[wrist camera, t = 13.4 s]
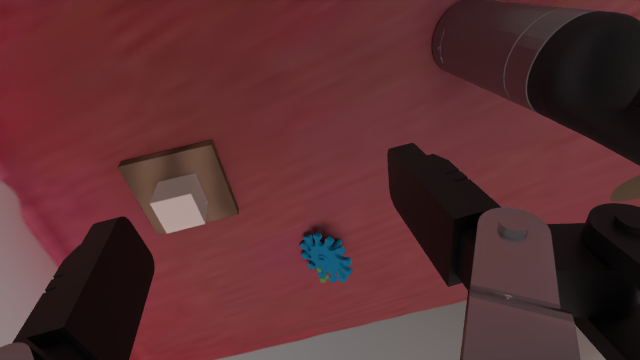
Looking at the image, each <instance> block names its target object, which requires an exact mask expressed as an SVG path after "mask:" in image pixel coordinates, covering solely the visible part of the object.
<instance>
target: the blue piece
mask: <svg viewBox="0 0 640 360" xmlns="http://www.w3.org/2000/svg"><path fill="white" fill-rule="evenodd" d="M313 238H314V240H315V243H314V242H313ZM321 238H322V234H320V233H317V232H316V233H315V234H314V235H313V237H312V235H310V234H309V235H306V236H305V237H304V240H305V241H304V242H303V243H302V244H301V245H300V247H301V248H302V249H304V250H305V251H304V252H303V253H302V257H303V258H304V259H309V260H311V261H310V262H309V264H308V266H309V268H310V269H311V270H313V269H314V268H317V271H318V275H319V276H320V277H321V278H320V281H321V282H322V283H324V282H325V281H326V280H327V278H328V275H327V274H326V273H330V274H331V276H330V277H329V281H331V282H333V283H335V282H336V281H337V276H336V273H337V274H338V275H339V277H338V279H339V281H340V282H345V281H346V280H347V277H348V276H349V275H350V274H351V273H352V271H353V270H352V269H351V268H349V266H350V264H351V258H349V257H343V256H341V255H343V254H344V252H345V249H344V247H343V246H342V245H341V244H342V240H341V239H337V241H336V242H335V243H334V239H333V238H331V237H330V236H328V237H327V238H326V239H325V243H324V244H323V243H321V242H320V239H321ZM333 243H334V244H333ZM332 244H333V245H332ZM331 245H332V246H331ZM309 246H310V247H309ZM330 246H331V247H330ZM341 269H342V270H343V272H344V273H343V272H342V270H341Z"/></svg>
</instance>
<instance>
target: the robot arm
mask: <svg viewBox="0 0 640 360" xmlns="http://www.w3.org/2000/svg"><path fill="white" fill-rule="evenodd" d="M432 52H433V56H434V59H435V61H436V63H437V64H438V65H439V66H440V68H441V69H443V70H445V71H447V72H449V73H451V74H453V75H455V76H458V77H460V78H462V79H464V80H466V81H468V82H470V83H473V84H475V85H477V86H479V87H481V88H484V89H486V90H488V91H490V92H492V93H494V94H497V95H499V96H501V97H503V98H505V99H508V100H510V101H512V102H514V103H517V104H519V105H521V106H523V107H525V108H528V109H530V110H532V111H534V112H536V113H539V114H541V115H543V116H545V117H547V118H549V119H552V120H553V121H555V122H557V123H559V124H561V125H563V126H565V127H567V128H569V129H572V130H574V131H576V132H578V133H580V134H582V135H584V136H586V137H588V138H590V139H592V140H594V141H595V142H597V143H599V144H601V145H603V146H605V147H607V148H608V149H610V150H612V151H614V152H616V153H617V154H619V155H621V156H623V157H625V158H627V159H628V160H630V161H632V162H634V163H636V164H637V165H639V166H640V21H639V20H638V19H636V18H634V17H632V16H629V15H626V14H621V13H614V12H604V11H593V10H583V9H573V8H561V7H551V6H541V5H531V4H521V3H511V2H501V1H493V0H463V1H461V2H459V3H457V4H455V5H454V6H453V7H451V8H450V9H449V10H448V11H447V12H446V13H445V14H444V15H443V17H442V18H441V20H440V21H439V23H438V25H437V27H436V29H435V32H434V36H433V41H432ZM387 156H388V174H389V190H390V196H391V199H392V202H393V204H394V206H395V208H396V210H397V211H398V213H399V214H400V216H401V217H402V219H403V220H404V222H405V223H406V225H407V226H408V228H409V229H410V231H411V232H412V234H413V235H414V237H415V238H416V240H417V241H418V243H419V244H420V246H421V247H422V249H423V250H424V252H425V253H426V255H427V256H428V257H429V259H430V260H431V262H432V263H433V265H434V266H435V268H436V269H437V271H438V272H439V274H440V275H441V277H442V278H443V280H444V281H445V283H446V284H447V286H448V287H450V286H453V285H456V284H460V283H463V284H464V286H465V287H466V288H467V290H468V296H467V305H466V313H465V322H464V329H463V338H462V347H461V354H460V360H581V359H580V353H579V346H578V340H577V333H576V327H575V325H576V326H577V327H578V328H579V329H580V330H581V331H582V333H583V334H584V335H585V336H586V337H587V338H588V340H589V341H590V342H591V343H592V344H593V345H594V346H595V347H596V349H597V350H598V351H599V352H600V353H601V354H602V355H603V357H604V358H605V359H606V360H640V207H637V206H633V205H628V204H617V203H611V204H603V205H599V206H596V207H595V208H593V209H592V210H591V211H590V213H589V215H588V218H587V220H586V223H575V224H546V223H545V222H544V221H543V220H542V219H541V218H539V217H537V216H536V215H534V214H532V213H530V212H527V211H525V210H521V209H517V208H509V207H501V206H499V205H498V204H497V203H496V202H495V201H494V200H493V199H492V198H490V197H489V196H488V195H487V194H486V193H485V192H484V191H482V190H481V189H480V188H479V187H478V186H477V185H476V184H475V183H473V182H472V181H471V180H470V179H469V180H468V178H467V176H466V175H464V174H463V173H462V172H461V171H460V172H459V169H458V168H456V167H455V166H454V165H453V164H452V163H451V162H450V161H449V160H447V159H444V158H442V157H439V156H437V155H434V154H430V155H426V154H425V153H424V152H423V151H421V150H420V149H419V148H418V147H417V146H416V145H415V144H414V143H410V144H406V145H402V146H398V147H394V148H390V149H389V150H388V154H387ZM153 275H154V260H153V257H152V254H151V252H150V251H149V249H148V248H147V246H146V245H145V243H144V242H143V240H142V238H141V237H140V235H139V234H138V232H137V231H136V229H135V228H134V226H133V225H132V223H131V222H130V221H129V220H128V219H127V218H126V217H118V218H114V219H110V220H106V221H103V222H99V223H95V224H94V225H92V227H91V228H90V230H89V232H88V233H87V235H86V237H85V239H84V240H83V242H82V244H81V245H79V246H78V247H77V248H76V249H75V250H74V251H73V252H72V253H71V254H70V255H69V256H68V257H67V258H66V259H64V260H63V262H62V263H61V265H60V267H59V268H58V270H57V272H56V273H55V275H54V276H53V277H54V279H53V280H51V281H50V283H49V284H48V286H47V288H46V289H45V291H46V293H43V294H42V296H41V298H40V299H39V301H38V302H37V304H36V306H35V307H34V309H33V311H32V312H31V314H30V315H29V317H28V319H27V320H26V322H25V323H24V325H23V327H22V328H21V330H20V331H19V333H18V335H17V336H16V338H15V339H14V341H13V343H12V344H8V345H5V346H3V347H1V348H0V360H129V358H130V355H131V351H132V348H133V344H134V341H135V337H136V334H137V330H138V327H139V323H140V320H141V316H142V313H143V309H144V306H145V302H146V299H147V295H148V292H149V288H150V285H151V282H152V278H153Z"/></svg>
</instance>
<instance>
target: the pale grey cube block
mask: <svg viewBox="0 0 640 360" xmlns="http://www.w3.org/2000/svg"><path fill="white" fill-rule="evenodd" d="M150 205H151V207H152V208H153V210H154V212H155V214H156V216H157V217H158V219H159V221H160V223H161V224H162V226H163V228H164V230H165V231H166V233H171V232H175V231H179V230H183V229H187V228H191V227H194V226H198V225H202V224H205V221H206V213H207V205H208V201H207V199H206V196H205V194H204V192H203V190H202V187H201V185H200V183H199V180H198V178H197V176H196V174H195V173H194V174H189V175H185V176H181V177H177V178H173V179H169V180H164V181H160V182H158V183H157V186H156V189H155V191H154V194H153V197H152V199H151V202H150Z"/></svg>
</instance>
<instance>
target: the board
mask: <svg viewBox="0 0 640 360" xmlns="http://www.w3.org/2000/svg"><path fill="white" fill-rule="evenodd" d="M118 168H119V170H120V172H121V173H122V175H123V177H124V178H125V180H126V182H127V183H128V185H129V187H130V188H131V190H132V192H133V193H134V195H135V197H136V198H137V200H138V202H139V203H140V205H141V207H142V208H143V210H144V212H145V213H146V215H147V217H148V218H149V220H150V222H151V223H152V225H153V227H154V229H155V230H156V232H157V234H158V235H161V234H165V233H166V231H165V230H164V228H163V226H162V224H161V223H160V221H159V219H158V217H157V216H156V214H155V212H154V210H153V208H152V207H151V205H150V202H151V199H152V197H153V194H154V191H155V189H156V186H157V183H158V182H160V181H164V180H169V179H173V178H177V177H181V176H185V175H189V174H194V173H195V174H196V176H197V178H198V180H199V183H200V185H201V187H202V190H203V192H204V194H205V196H206V199H207V201H208V205H207V213H206V221H205V223H207V222H211V221H215V220H218V219H222V218H226V217H230V216H234V215H238V214H239V208H238V206H237V203H236V201H235V198H234V195H233V193H232V190H231V188H230V185H229V182H228V180H227V177H226V174H225V172H224V169H223V167H222V164H221V161H220V159H219V156H218V154H217V151H216V148H215V146H214V143H213V141H212V140H210V141H206V142H201V143H197V144H193V145H189V146H184V147H180V148H176V149H172V150H168V151H163V152H159V153H155V154H151V155H146V156H142V157H138V158H134V159H129V160H125V161H121V163H120V164H119V166H118Z"/></svg>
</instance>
